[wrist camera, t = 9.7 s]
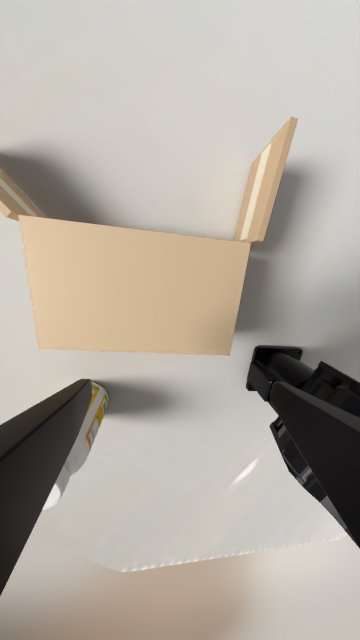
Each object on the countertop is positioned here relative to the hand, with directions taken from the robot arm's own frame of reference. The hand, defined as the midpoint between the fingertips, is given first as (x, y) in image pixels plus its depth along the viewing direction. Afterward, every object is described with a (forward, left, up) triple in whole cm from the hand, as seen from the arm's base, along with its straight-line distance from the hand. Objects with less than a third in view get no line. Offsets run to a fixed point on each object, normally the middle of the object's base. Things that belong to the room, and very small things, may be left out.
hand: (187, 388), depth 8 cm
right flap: (-6, -12, -12) cm, 18 cm away
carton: (+3, -3, -12) cm, 13 cm away
